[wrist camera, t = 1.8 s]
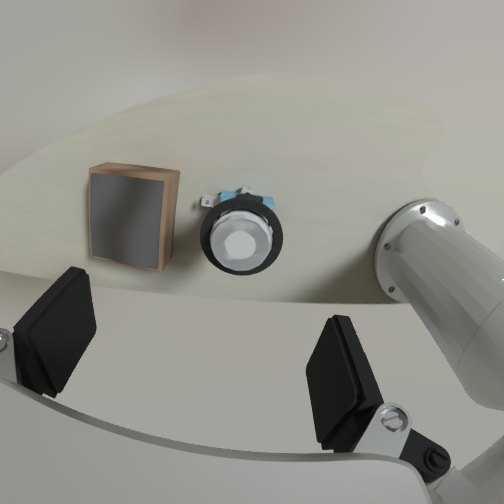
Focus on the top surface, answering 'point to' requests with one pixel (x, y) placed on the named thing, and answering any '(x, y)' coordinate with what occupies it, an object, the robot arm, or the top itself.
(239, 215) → the push button
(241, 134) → the top surface
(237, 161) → the top surface
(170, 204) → the stand
